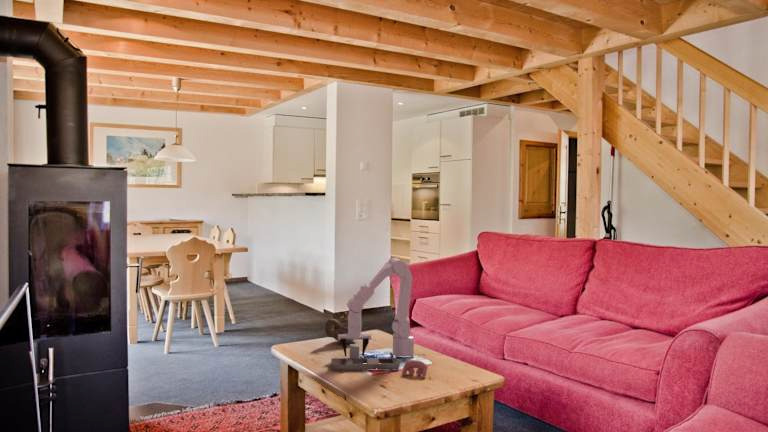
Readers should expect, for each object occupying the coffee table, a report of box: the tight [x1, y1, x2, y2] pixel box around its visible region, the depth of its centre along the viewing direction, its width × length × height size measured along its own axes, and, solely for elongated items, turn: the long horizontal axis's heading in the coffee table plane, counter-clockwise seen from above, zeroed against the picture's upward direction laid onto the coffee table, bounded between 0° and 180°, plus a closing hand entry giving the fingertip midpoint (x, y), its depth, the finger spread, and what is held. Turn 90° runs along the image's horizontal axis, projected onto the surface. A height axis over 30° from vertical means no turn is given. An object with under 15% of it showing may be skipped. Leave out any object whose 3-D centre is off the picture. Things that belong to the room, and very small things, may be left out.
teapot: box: [324, 311, 363, 345], centre depth 268 cm, size 21×12×15 cm, turn 130°
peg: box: [349, 343, 360, 358], centre depth 245 cm, size 4×4×6 cm
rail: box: [330, 357, 400, 372], centre depth 234 cm, size 28×8×2 cm, turn 95°
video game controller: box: [401, 359, 428, 379], centre depth 226 cm, size 10×5×7 cm, turn 71°
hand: (354, 355), depth 245 cm, fingers open, 7 cm apart
